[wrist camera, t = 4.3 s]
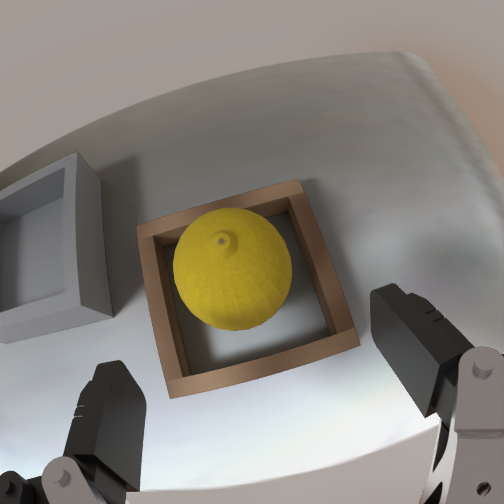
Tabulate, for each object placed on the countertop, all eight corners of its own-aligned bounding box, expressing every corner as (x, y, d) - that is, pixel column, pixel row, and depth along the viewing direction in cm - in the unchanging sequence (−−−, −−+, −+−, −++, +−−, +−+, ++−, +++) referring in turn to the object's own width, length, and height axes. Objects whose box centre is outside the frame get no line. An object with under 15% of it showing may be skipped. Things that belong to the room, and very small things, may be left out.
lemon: (203, 344, 18) (155, 328, 10) (191, 256, 20) (146, 191, 12) (296, 327, 18) (314, 300, 10) (278, 240, 20) (280, 165, 12)
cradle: (180, 395, 17) (170, 399, 15) (147, 238, 21) (135, 225, 19) (351, 347, 17) (360, 345, 15) (296, 195, 21) (298, 178, 19)
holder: (5, 343, 18) (-30, 336, 15) (5, 223, 22) (-22, 203, 18) (113, 317, 19) (80, 305, 15) (101, 180, 23) (77, 151, 19)
